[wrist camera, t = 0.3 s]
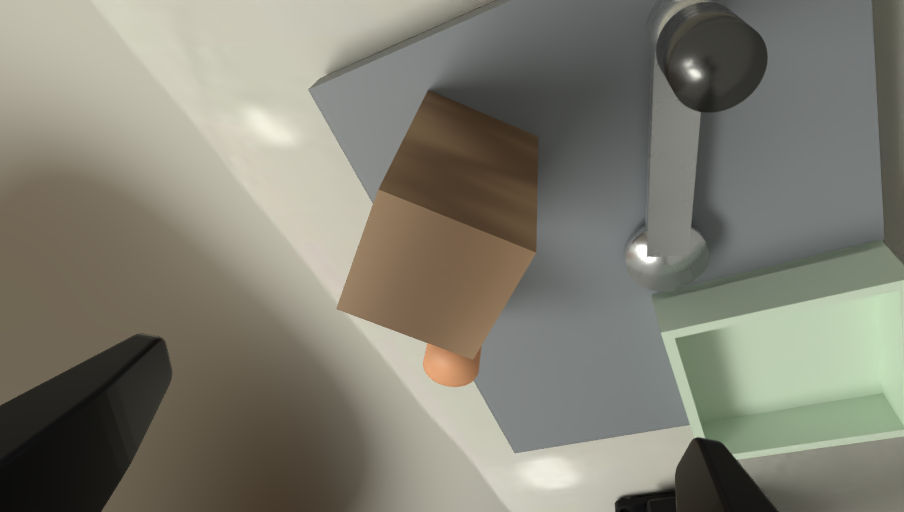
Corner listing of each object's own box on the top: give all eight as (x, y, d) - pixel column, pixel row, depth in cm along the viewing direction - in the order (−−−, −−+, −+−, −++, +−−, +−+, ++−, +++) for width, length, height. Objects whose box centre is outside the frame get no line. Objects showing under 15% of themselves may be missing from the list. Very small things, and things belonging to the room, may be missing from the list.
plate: (878, 370, 25) (948, 477, 20) (515, 434, 30) (511, 528, 26) (842, -154, 15) (960, -159, 11) (319, 78, 20) (260, 136, 16)
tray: (889, 390, 24) (918, 434, 22) (691, 422, 26) (702, 464, 24) (881, 239, 20) (914, 277, 18) (651, 294, 22) (660, 332, 21)
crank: (701, 279, 21) (736, 371, 18) (623, 282, 22) (640, 373, 18) (733, -26, 16) (795, 12, 12) (627, -11, 16) (653, 29, 12)
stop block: (538, 136, 19) (536, 252, 14) (491, 227, 22) (472, 360, 16) (428, 89, 19) (378, 189, 13) (391, 187, 21) (336, 308, 15)
